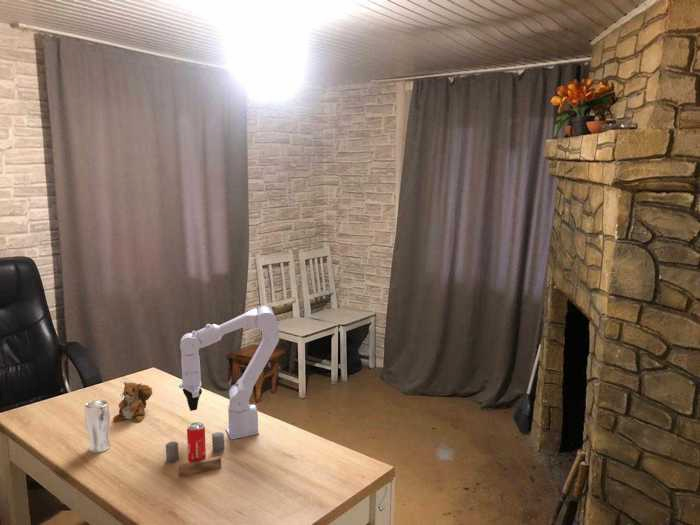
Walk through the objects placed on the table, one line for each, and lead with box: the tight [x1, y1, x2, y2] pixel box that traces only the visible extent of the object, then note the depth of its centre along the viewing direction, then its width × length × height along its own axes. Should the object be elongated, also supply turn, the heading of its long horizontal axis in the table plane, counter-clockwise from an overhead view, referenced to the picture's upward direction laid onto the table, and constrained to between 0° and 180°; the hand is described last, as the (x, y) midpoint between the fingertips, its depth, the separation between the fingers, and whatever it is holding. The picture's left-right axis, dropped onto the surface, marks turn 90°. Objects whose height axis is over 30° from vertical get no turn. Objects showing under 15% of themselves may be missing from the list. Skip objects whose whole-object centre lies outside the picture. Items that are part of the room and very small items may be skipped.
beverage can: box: [186, 421, 207, 463], centre depth 164 cm, size 5×5×12 cm
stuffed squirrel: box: [112, 381, 153, 423], centre depth 195 cm, size 10×14×13 cm
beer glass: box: [84, 399, 111, 454], centre depth 172 cm, size 7×7×15 cm
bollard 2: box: [211, 431, 225, 453], centre depth 172 cm, size 4×4×5 cm
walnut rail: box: [177, 455, 222, 478], centre depth 160 cm, size 12×2×3 cm, turn 116°
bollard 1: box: [165, 441, 180, 464], centre depth 166 cm, size 4×4×5 cm
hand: (193, 409), depth 178 cm, fingers closed
